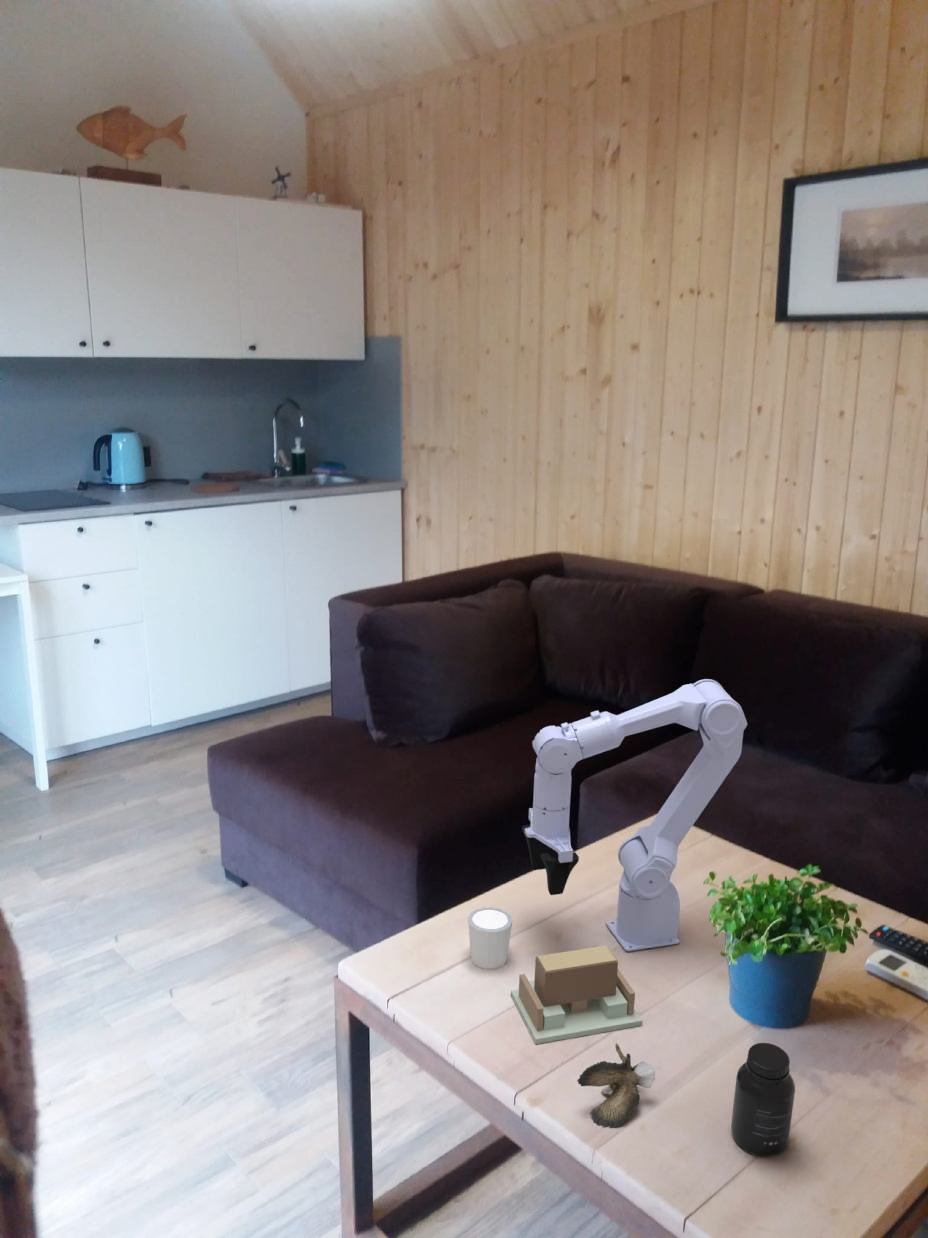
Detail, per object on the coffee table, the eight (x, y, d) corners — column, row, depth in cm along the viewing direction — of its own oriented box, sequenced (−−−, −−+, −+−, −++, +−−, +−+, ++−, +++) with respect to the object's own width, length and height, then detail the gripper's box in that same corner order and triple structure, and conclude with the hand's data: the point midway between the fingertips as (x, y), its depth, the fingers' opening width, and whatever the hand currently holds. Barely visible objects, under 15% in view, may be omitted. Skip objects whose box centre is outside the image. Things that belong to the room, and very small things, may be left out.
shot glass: (511, 947, 160) (513, 908, 158) (509, 973, 154) (511, 933, 152) (469, 943, 161) (470, 905, 159) (464, 969, 154) (465, 929, 152)
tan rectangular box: (604, 978, 148) (606, 944, 147) (615, 995, 144) (618, 960, 143) (534, 989, 145) (535, 955, 144) (543, 1007, 142) (545, 972, 140)
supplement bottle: (722, 1117, 126) (731, 1036, 123) (775, 1115, 127) (785, 1034, 124) (741, 1161, 120) (751, 1077, 116) (797, 1158, 120) (808, 1074, 117)
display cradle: (610, 978, 153) (612, 953, 152) (642, 1025, 143) (644, 999, 142) (510, 995, 149) (511, 969, 147) (535, 1044, 139) (536, 1017, 137)
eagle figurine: (598, 1059, 134) (563, 1086, 127) (630, 1030, 131) (597, 1056, 124) (635, 1110, 131) (602, 1141, 124) (670, 1082, 128) (638, 1111, 121)
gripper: (512, 785, 162) (509, 861, 166) (543, 827, 148) (539, 908, 152) (553, 781, 164) (549, 856, 167) (587, 822, 150) (582, 902, 154)
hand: (547, 880), depth 160 cm, fingers open, 7 cm apart
